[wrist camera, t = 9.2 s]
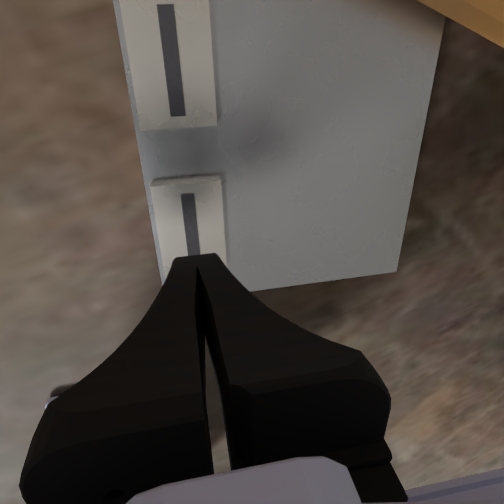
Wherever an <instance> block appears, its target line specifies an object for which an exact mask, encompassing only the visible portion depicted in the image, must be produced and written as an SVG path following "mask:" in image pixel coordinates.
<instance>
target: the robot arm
mask: <svg viewBox="0 0 504 504" xmlns="http://www.w3.org/2000/svg"><path fill="white" fill-rule="evenodd" d="M205 337H206V341H207V345H208V349H209V353H210V357H211V361H212V365H213V369H214V373H215V377H216V381H217V386H218V390H219V394H220V399H221V404H222V411H223V418H224V424H225V431H226V438H227V446H228V453H229V460H230V467H231V471H228V472H223V473H218V474H214V469H213V460H212V451H211V442H210V434H209V425H208V416H207V406H206V377H205ZM390 410H391V397H390V394H389V392H388V389H387V387H386V386H385V384H384V382H383V381H382V379H381V377H380V376H379V374H378V373H377V372H376V370H375V369H374V367H373V366H372V365H371V364H370V362H369V361H368V360H367V359H366V358H365V356H364V355H363V354H362V352H361V351H359V350H356V349H353V348H350V347H347V346H344V345H341V344H338V343H335V342H332V341H330V340H327V339H325V338H323V337H320V336H318V335H316V334H313V333H311V332H309V331H307V330H305V329H303V328H301V327H299V326H297V325H295V324H294V323H292V322H290V321H288V320H287V319H285V318H283V317H282V316H280V315H278V314H277V313H275V312H274V311H273V310H271V309H270V308H268V307H267V306H266V305H265V304H263V303H262V302H261V301H260V300H258V299H257V298H256V297H255V296H254V295H253V294H252V293H251V292H249V291H248V290H247V289H246V288H245V287H244V286H243V285H242V284H241V283H240V282H239V280H238V279H237V278H236V277H235V276H234V275H233V274H232V273H231V272H230V270H229V269H228V268H227V267H226V265H225V264H224V263H223V261H222V260H221V259H220V257H219V255H217V254H216V253H208V254H200V255H191V256H183V257H176V258H175V259H174V260H173V261H172V265H171V268H170V271H169V273H168V275H167V278H166V280H165V282H164V284H163V286H162V288H161V290H160V292H159V294H158V295H157V297H156V299H155V300H154V302H153V304H152V305H151V307H150V308H149V310H148V311H147V313H146V314H145V316H144V317H143V319H142V320H141V321H140V323H139V324H138V325H137V327H136V328H135V329H134V330H133V332H132V333H131V334H130V335H129V336H128V337H127V339H126V340H125V341H124V342H123V343H122V344H121V345H120V346H119V347H118V348H117V349H116V351H115V352H114V353H113V354H112V355H110V356H109V357H108V358H107V359H106V360H105V361H104V362H103V363H102V364H100V365H99V366H98V367H97V368H96V369H94V370H93V371H92V372H91V373H90V374H88V375H87V376H86V377H85V378H83V379H82V380H81V381H79V382H78V383H77V384H75V385H74V386H72V387H71V388H70V389H68V390H67V391H65V392H64V393H63V394H61V395H60V396H55V397H51V398H49V399H48V400H47V402H46V404H45V411H44V414H43V416H42V418H41V420H40V422H39V424H38V426H37V429H36V431H35V433H34V435H33V438H32V441H31V444H30V447H29V450H28V453H27V457H26V460H25V463H24V466H23V469H22V473H21V478H20V483H19V487H20V491H21V494H22V497H23V499H24V501H25V502H26V504H504V468H502V469H497V470H493V471H488V472H484V473H480V474H475V475H471V476H466V477H462V478H457V479H453V480H449V481H444V482H440V483H435V484H431V485H427V486H422V487H418V488H413V489H409V490H404V488H403V486H402V484H401V483H400V481H399V479H398V477H397V475H396V473H395V471H394V469H393V467H392V465H391V463H390V461H391V460H392V454H391V451H390V449H389V447H388V446H387V444H386V442H385V440H384V435H385V431H386V427H387V422H388V418H389V414H390Z"/></svg>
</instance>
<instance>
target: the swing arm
mask: <svg viewBox="0 0 504 504" xmlns="http://www.w3.org/2000/svg"><path fill="white" fill-rule="evenodd" d="M418 1H419V2H421V3H423V4H425V5H427V6H428V7H430V8H432V9H434V10H436V11H438V12H439V13H441V14H443V15H445V16H447V17H448V18H450V19H452V20H454V21H456V22H457V23H459V24H461V25H463V26H465V27H466V28H468V29H470V30H472V31H474V32H476V33H477V34H479V35H481V36H483V37H485V38H486V39H488V40H490V41H492V42H494V43H495V44H497V45H499V46H501V47H503V48H504V0H418Z"/></svg>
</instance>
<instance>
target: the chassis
mask: <svg viewBox="0 0 504 504" xmlns="http://www.w3.org/2000/svg"><path fill="white" fill-rule="evenodd" d="M113 3H114V9H115V15H116V21H117V26H118V32H119V38H120V44H121V50H122V55H123V61H124V67H125V73H126V79H127V85H128V90H129V96H130V102H131V108H132V114H133V119H134V125H135V131H136V137H137V143H138V149H139V154H140V160H141V166H142V172H143V178H144V183H145V189H146V195H147V201H148V207H149V212H150V218H151V224H152V230H153V236H154V242H155V247H156V253H157V259H158V265H159V271H160V276H161V282H162V286H163V284H164V282H165V280H166V278H167V275H168V273H169V271H170V268H171V265H172V261H173V260H174V259H175V258H176V257H183V256H191V255H200V254H208V253H216V254H217V255H219V257H220V259H221V260H222V261H223V263H224V264H225V265H226V267H227V268H228V269H229V270H230V272H231V273H232V274H233V275H234V276H235V277H236V278H237V279H238V280H239V282H240V283H241V284H242V285H243V286H244V287H245V288H246V289H247V290H248V291H249V292H251V291H258V290H265V289H273V288H280V287H288V286H295V285H302V284H310V283H317V282H324V281H332V280H339V279H347V278H354V277H361V276H369V275H376V274H384V273H391V272H397V266H398V261H399V256H400V251H401V246H402V241H403V235H404V230H405V225H406V220H407V215H408V209H409V204H410V199H411V194H412V189H413V184H414V178H415V173H416V168H417V163H418V158H419V152H420V147H421V142H422V137H423V132H424V127H425V121H426V116H427V111H428V106H429V101H430V96H431V90H432V85H433V80H434V75H435V70H436V64H437V59H438V54H439V49H440V44H441V39H442V33H443V28H444V23H445V18H446V16H445V15H443V14H441V13H439V12H438V11H436V10H434V9H432V8H430V7H428V6H427V5H425V4H423V3H421V2H419V1H418V0H113Z"/></svg>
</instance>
